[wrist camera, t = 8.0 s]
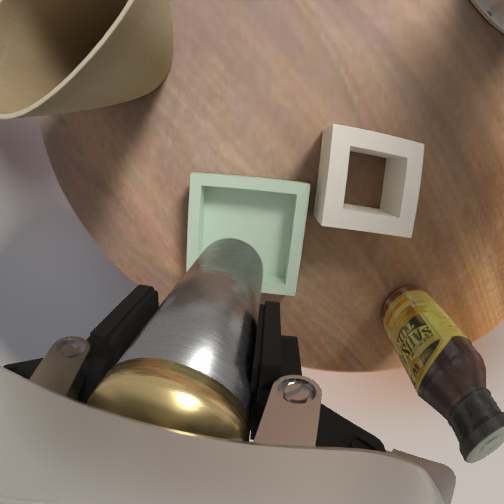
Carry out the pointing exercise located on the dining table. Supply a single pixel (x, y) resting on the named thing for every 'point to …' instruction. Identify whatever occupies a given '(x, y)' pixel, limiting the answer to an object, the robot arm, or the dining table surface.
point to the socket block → (394, 185)
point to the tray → (251, 221)
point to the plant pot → (80, 54)
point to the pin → (195, 350)
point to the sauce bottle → (444, 369)
